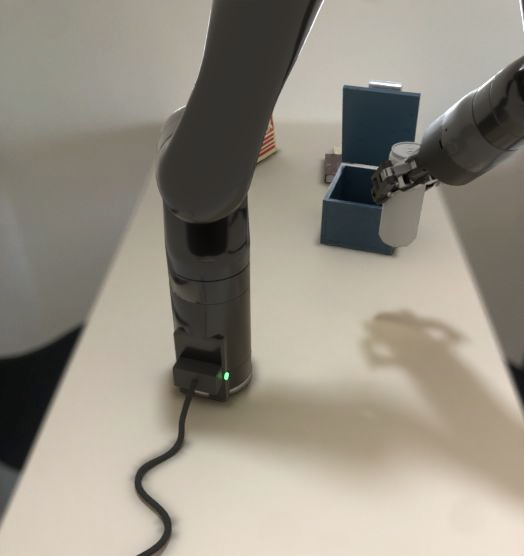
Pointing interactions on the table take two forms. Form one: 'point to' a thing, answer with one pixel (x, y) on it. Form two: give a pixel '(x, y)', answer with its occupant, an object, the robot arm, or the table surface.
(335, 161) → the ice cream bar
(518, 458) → the table surface
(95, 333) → the table surface
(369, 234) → the blue open box
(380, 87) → the lid
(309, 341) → the table surface
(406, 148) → the beverage can
